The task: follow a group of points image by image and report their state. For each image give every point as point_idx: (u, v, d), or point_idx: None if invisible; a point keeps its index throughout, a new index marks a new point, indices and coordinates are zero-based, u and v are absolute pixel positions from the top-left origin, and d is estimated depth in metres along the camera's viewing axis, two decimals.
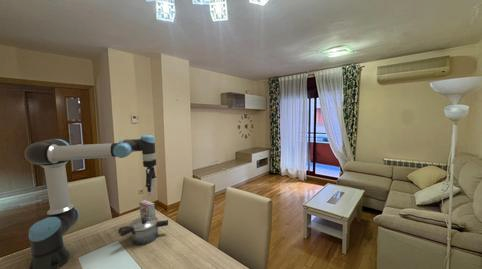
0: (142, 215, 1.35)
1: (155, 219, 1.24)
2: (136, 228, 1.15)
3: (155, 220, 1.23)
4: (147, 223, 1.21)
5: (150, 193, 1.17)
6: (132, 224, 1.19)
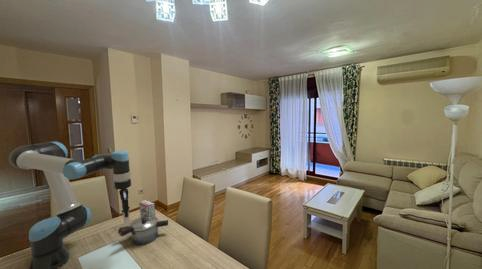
0: (142, 215, 1.35)
1: (155, 219, 1.24)
2: (136, 228, 1.15)
3: (155, 220, 1.23)
4: (147, 223, 1.21)
5: (127, 218, 1.05)
6: (132, 224, 1.19)
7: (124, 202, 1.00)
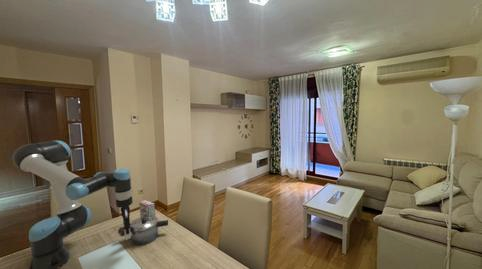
0: (142, 215, 1.35)
1: (155, 219, 1.24)
2: (136, 228, 1.15)
3: (155, 220, 1.23)
4: (147, 223, 1.21)
5: (128, 235, 1.06)
6: (132, 224, 1.19)
7: (125, 220, 1.01)
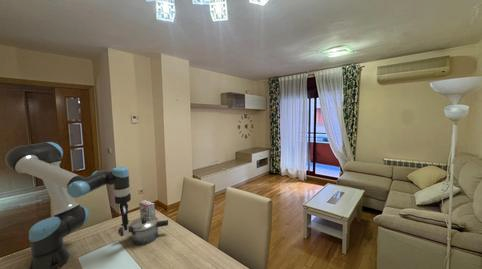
0: (142, 215, 1.35)
1: (155, 219, 1.24)
2: (135, 228, 1.15)
3: (155, 220, 1.23)
4: (147, 223, 1.20)
5: (126, 231, 1.10)
6: (132, 224, 1.19)
7: (124, 216, 1.05)
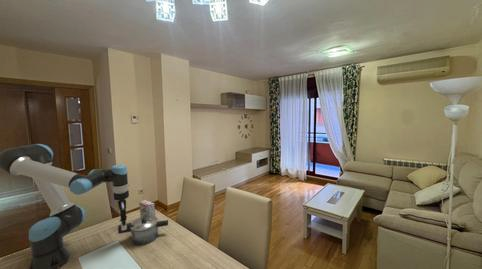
0: (142, 215, 1.35)
1: (154, 222, 1.21)
2: (132, 227, 1.16)
3: (153, 223, 1.19)
4: (145, 224, 1.19)
5: (124, 226, 1.14)
6: (135, 221, 1.23)
7: (122, 212, 1.09)
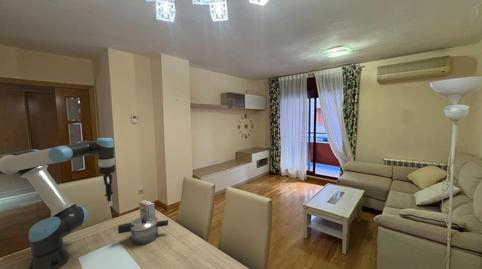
0: (142, 215, 1.35)
1: (154, 222, 1.21)
2: (132, 227, 1.16)
3: (153, 223, 1.19)
4: (145, 224, 1.19)
5: (110, 202, 1.10)
6: (135, 221, 1.23)
7: (107, 186, 1.05)
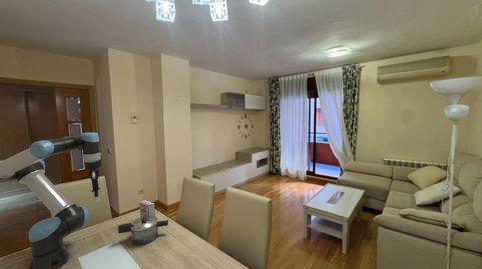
0: (142, 215, 1.35)
1: (154, 222, 1.21)
2: (132, 227, 1.16)
3: (153, 223, 1.19)
4: (145, 224, 1.19)
5: (97, 198, 1.09)
6: (135, 221, 1.23)
7: (93, 181, 1.03)
